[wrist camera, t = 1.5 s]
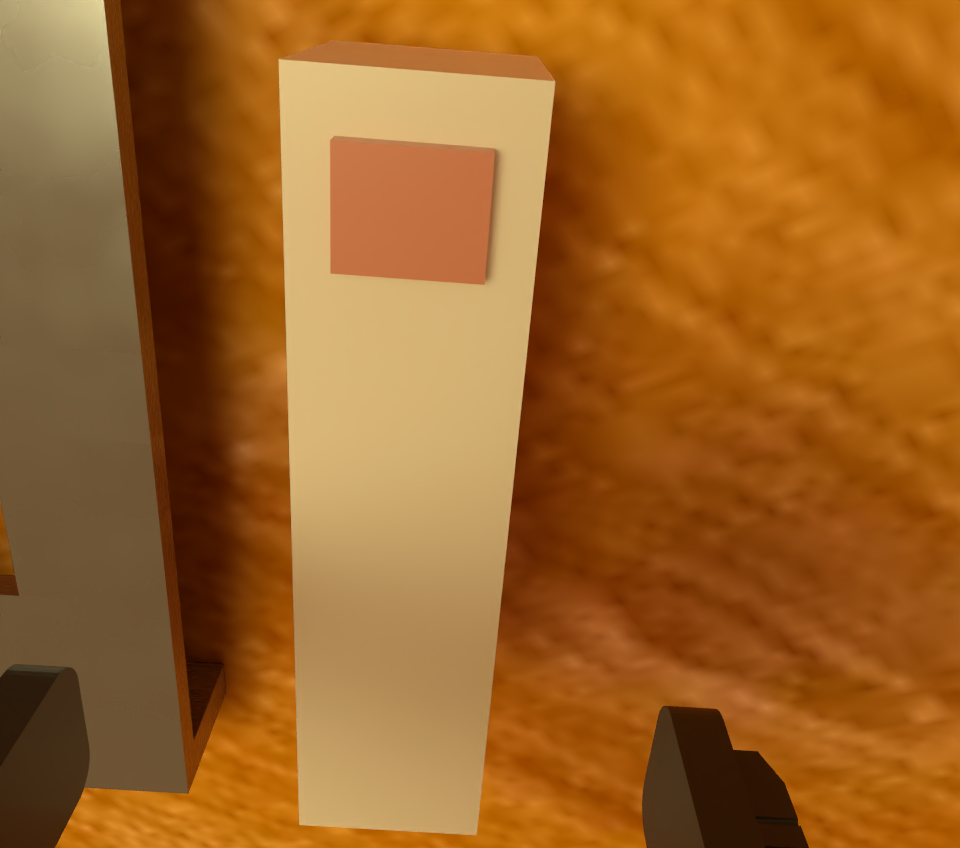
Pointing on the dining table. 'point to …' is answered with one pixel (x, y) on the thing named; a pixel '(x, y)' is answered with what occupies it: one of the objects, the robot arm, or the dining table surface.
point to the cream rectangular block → (404, 410)
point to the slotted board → (87, 405)
